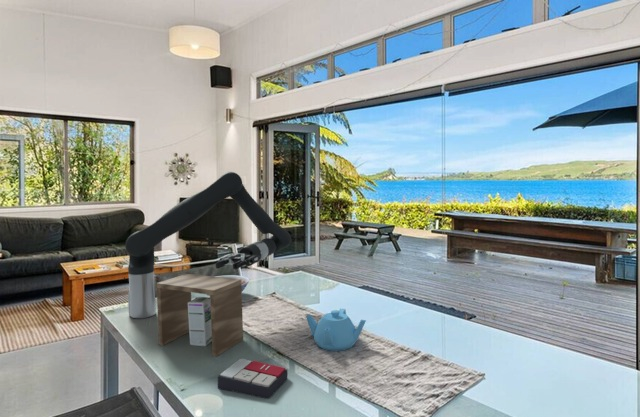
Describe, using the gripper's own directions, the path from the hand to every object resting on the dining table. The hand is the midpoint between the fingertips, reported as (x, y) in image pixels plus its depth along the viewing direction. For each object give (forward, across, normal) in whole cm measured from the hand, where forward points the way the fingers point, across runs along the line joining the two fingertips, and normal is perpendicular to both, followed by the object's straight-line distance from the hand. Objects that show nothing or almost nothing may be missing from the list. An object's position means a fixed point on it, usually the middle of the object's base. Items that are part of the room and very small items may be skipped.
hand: (225, 266), depth 149 cm
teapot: (-4, +39, +26) cm, 47 cm away
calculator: (+29, +33, +22) cm, 49 cm away
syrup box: (+17, +1, +21) cm, 27 cm away
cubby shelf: (+17, +1, +20) cm, 27 cm away
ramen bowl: (-24, -30, +24) cm, 45 cm away
